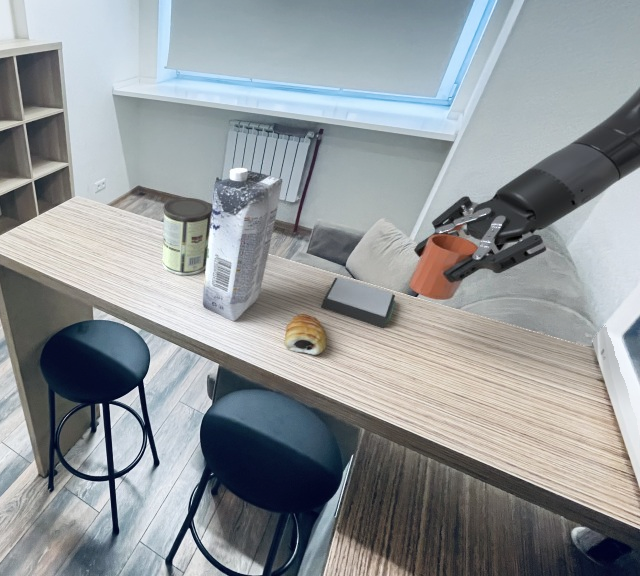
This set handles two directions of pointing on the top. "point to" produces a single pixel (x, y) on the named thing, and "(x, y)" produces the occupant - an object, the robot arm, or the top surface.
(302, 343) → the pastry
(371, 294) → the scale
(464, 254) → the terracotta flower pot
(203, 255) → the coffee can
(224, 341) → the top surface
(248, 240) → the juice carton
